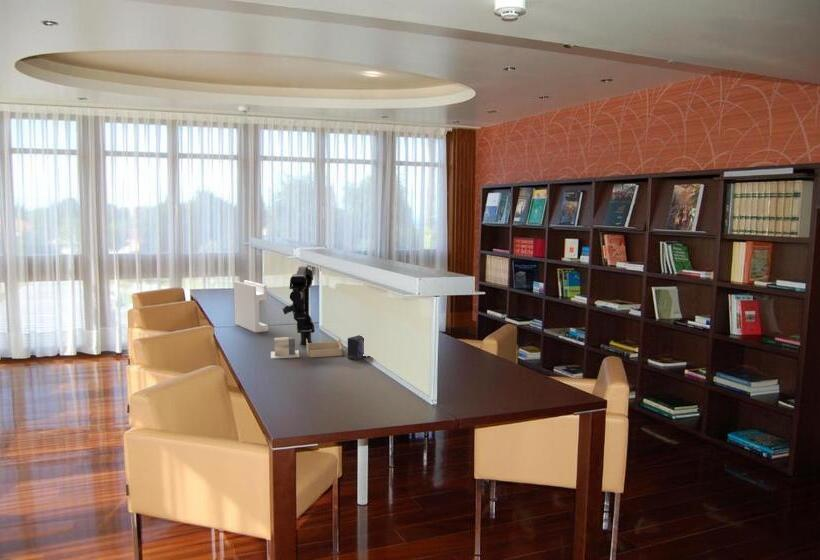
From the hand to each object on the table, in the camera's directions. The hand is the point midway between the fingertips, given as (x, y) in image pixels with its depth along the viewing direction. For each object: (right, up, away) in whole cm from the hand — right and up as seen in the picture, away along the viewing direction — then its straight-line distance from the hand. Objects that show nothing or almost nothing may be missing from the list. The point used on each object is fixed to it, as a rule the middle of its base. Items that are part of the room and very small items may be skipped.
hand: (299, 329), depth 328 cm
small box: (+32, -14, -12) cm, 37 cm away
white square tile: (-7, -13, -5) cm, 15 cm away
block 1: (-42, -5, +70) cm, 82 cm away
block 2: (-7, -12, -5) cm, 15 cm away
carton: (+13, -12, -1) cm, 18 cm away
